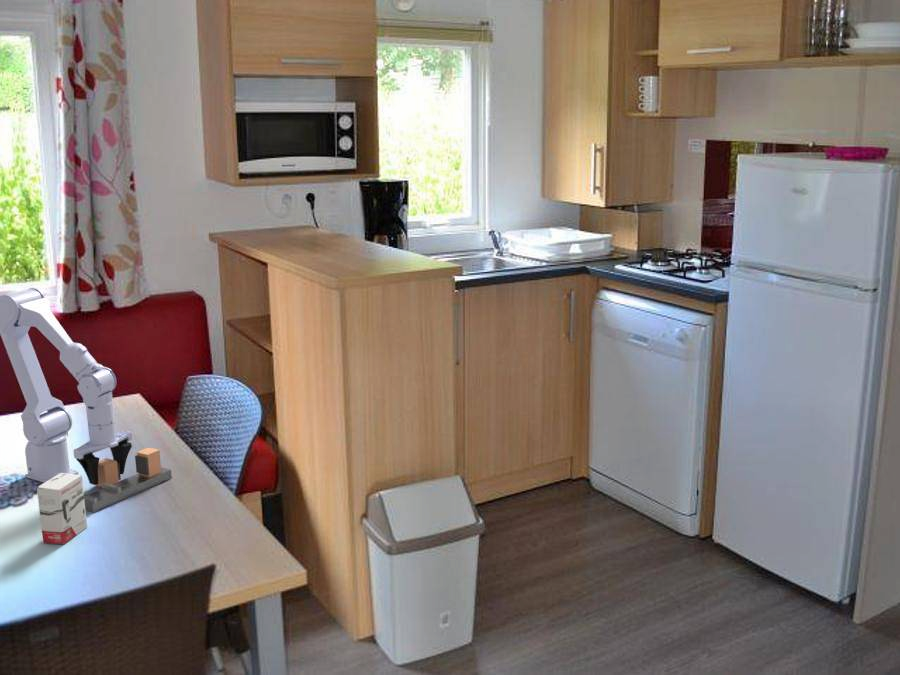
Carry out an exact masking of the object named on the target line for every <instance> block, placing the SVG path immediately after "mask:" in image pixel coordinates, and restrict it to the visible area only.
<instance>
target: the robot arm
mask: <svg viewBox="0 0 900 675" xmlns="http://www.w3.org/2000/svg"><path fill="white" fill-rule="evenodd" d="M31 327H34V328H36V329H37V330H38V331H40V333H41V334H42V335H43V336H44V337H45V338H46V339H47V340H48V341H49V342H50V343H51V344H52V345H53V346H54V347H55V348H56V349H57V350H58V351H59V360H60V362H61V363H62V364H63V366H64V367H65V368H66V369H67V370H68V372H69V373H70V374H71V375H72V376H73V377H74V379H75V380H76V381H77V382H78V384H77V385H76V387H77V390H78V393H79V395H81V397H82V400H83V402H82V403H83V404H84V406H85V412H86V420H87V430H88V437H89V440H88V441H86V442H85V443H83V444H82V445H80V446H79V447H77V448H74V449H73V457H74V458H73V459H76V461H77V462H78V463H79V464H80V466H81V467H82V469H83V470H84V473H85V475H86V478H87V479H88V481H89V485H90V484H91V485H93V486H96V485H97V484H98V463H99V461H100V460H101V459H100V457H97V456H95V453H98V452H101V451H103V450H105V449H108V448H109V449H110V451H111V456H112V460H115V461H117V463H119V466H120V475H124V473H125V468H126V463H127V458H128V457H129V456H128V455H129V453H130V451H131V449H132V448H133V446H132V442H130V441H132V440H133V434H132V431H128V430H123V431H119V432H117V431H116V424H115V423H116V421H115V412H114V410H115V409H114V403H113V402H114V401H113V391H114V390H115V389H116V386H117V378H116V375H115V373H114V372H113V369H111V368H109V367H107V366H103V365H102V364H101V363H98V362H97V360H96V359H95V358H94V357H93V356H92V354H90V352H89V351H88V349H87V347H86V346H84V345H83V344H82V343H79V342H74V341H73V340H72V338H71V337H70V336H69V334H67V332H66V330H65V329H64V327H63V326H62V325H61V324H60V322H59V320H58V318H56V317H55V315H54V313H53V312H52V311H51V302H50V300H49V299H48V298H46V296H45V294H44V293H43V292H42V291H41V290H40V289H39V288H36V287H30V288H28V289H25V290H21V291H17V292H12V293H8V294H2V295H0V337H1V339H2V342H3V345H4V348H5V349H6V353H7V356H8V358H9V361H10V363H11V366H12V369H13V371H14V374H15V377H16V379H17V381H18V384H19V387H20V389H21V392H22V395H23V397H24V400H25V402H26V406H25V408H24V409H23V411H22V413H21V415H20V418H21V421H22V430H23V431H22V432H23V435H24V437H25V439H26V440H27V441H28V442H27V443H26V445H25V450H24V454H25V459H26V460H25V462H26V468H27V469H26V470H27V471H26V472H27V473H25V474H24V477H25V478H28V479H31V480H34V481H38V482H41V483H45V482H46V481H48V480H49V479H51V478H53V477H54V476H56V475H58V474H59V473H68V474H78V475H79V471H78V470H76V469H71V468H70V458H69V449H68V448H69V447H68V441H67V437H69V431H71V429H72V427H73V418H72V416H71V414H70V412H69V411H68V410H67V409H66V407H65V406H64V403H63V401H62V400H60V399H58V398H56V397H54V396H53V395H51V391H50V388H49V386H48V384H47V381H46V378H45V375H44V373H43V372H44V371H42V370H43V369H42V368H41V365H40V362H39V360H38V357H37V354H36V351H35V349H34V346H33V344H32V341H31V339H30V335H29V331H30V329H31Z"/></svg>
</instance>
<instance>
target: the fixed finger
mask: <svg viewBox="0 0 900 675" xmlns="http://www.w3.org/2000/svg"><path fill="white" fill-rule="evenodd" d="M160 453H161V452H160V449H158V448H152V447H146V448H144V449H141V450H139V451H137V452H136V455H135V456H134V459H135V471H136V474H138V473H139V475H142V476H146V477H149V478H150V477H152V476H154V475H157V474H159V473H161V466H162V464H161V454H160Z"/></svg>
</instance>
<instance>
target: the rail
mask: <svg viewBox="0 0 900 675" xmlns="http://www.w3.org/2000/svg"><path fill="white" fill-rule="evenodd" d="M172 475H173V474H172V470H171V469H169V468H165V467H161V473H159V474H157V475H154V476H152V477H150V478H149V477H146V476H142V475H139V473H136V474H134V475H130V476H129V477H127V478H124V479H122V480H119V482H117V483H114V484H112V485H111V484H108V483H104V484H103V487H101V489H98V490H96V491H93V492H91V493H89V494H86V493H84V501H85V510H86V512H87V511H88V512H91V513H95V512H98V511H100V510H102V509H104V508H107V507H109V506H112V505H114V504H116V503H119V502H121V501H123V500H125V499H128V498H129V497H133V496H134V495H137V494H138V493H141V492H143V491H145V490H147V489H150V488H152V487H154V486H157V485H159V484H161V483H163V482H166V481H168V480H170V479H173V478H172Z"/></svg>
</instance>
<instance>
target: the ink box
mask: <svg viewBox="0 0 900 675" xmlns="http://www.w3.org/2000/svg"><path fill="white" fill-rule="evenodd" d="M37 487H38V488H36V492H37V493H36V494H37V503H38V510H39V518H40V519H39V520H40V526H41V534H42V543H43V544H45V543H46V544H54V545H65V544H66V543H68V542H69V541H71V540H72V539H73V538H75V537H76V536H77V535H79V534H80V533H81V532H83V531H84V530H85V529H86V528H88V521H87V510H85V501H84V494H85V492H84V484H83V474H79V473H78V474H68V473H59V474H58V475H56V476H54V477H53V478H51V479H49V480H48V481H46V482H45V483H44V482H42V484H40V485H38V486H37Z"/></svg>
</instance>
